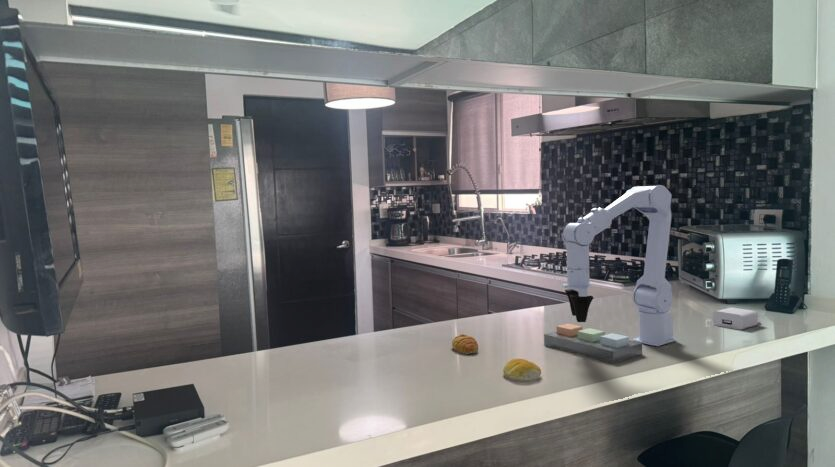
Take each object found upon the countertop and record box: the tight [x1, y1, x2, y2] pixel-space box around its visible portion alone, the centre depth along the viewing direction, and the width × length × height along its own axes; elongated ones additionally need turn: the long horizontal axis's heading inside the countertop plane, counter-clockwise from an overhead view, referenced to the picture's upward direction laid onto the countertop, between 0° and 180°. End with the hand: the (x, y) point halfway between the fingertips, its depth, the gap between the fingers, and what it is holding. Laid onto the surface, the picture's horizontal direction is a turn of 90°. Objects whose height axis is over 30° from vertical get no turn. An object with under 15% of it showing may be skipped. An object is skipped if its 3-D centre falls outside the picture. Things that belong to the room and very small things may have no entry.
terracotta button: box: [556, 323, 583, 337], centre depth 157 cm, size 5×5×3 cm
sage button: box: [578, 327, 606, 342], centre depth 151 cm, size 5×5×3 cm
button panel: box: [543, 330, 643, 364], centre depth 151 cm, size 12×23×3 cm, turn 34°
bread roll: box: [502, 358, 542, 383], centre depth 131 cm, size 8×9×4 cm
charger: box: [711, 307, 759, 331], centre depth 174 cm, size 5×9×15 cm
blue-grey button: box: [600, 332, 630, 348], centre depth 145 cm, size 5×5×3 cm
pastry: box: [451, 333, 479, 355], centre depth 154 cm, size 9×7×4 cm
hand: (578, 318), depth 148 cm, fingers open, 7 cm apart
